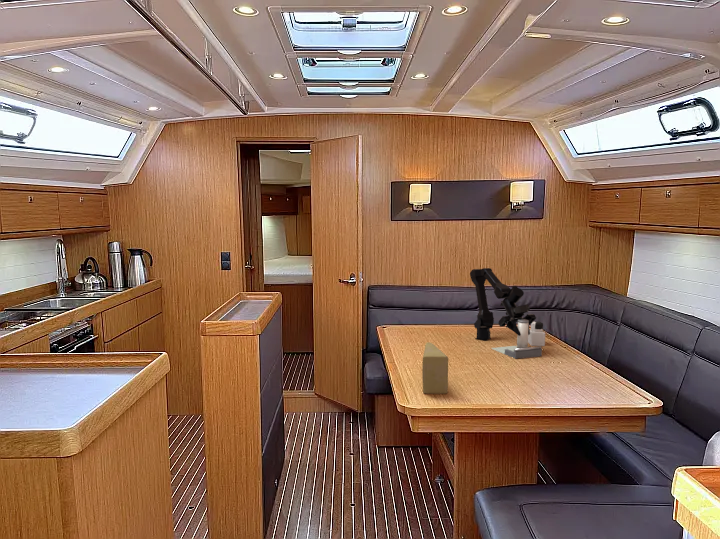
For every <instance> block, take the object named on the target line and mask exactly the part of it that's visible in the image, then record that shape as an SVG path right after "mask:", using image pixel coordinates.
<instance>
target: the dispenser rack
mask: <svg viewBox="0 0 720 539" xmlns="http://www.w3.org/2000/svg"><path fill="white" fill-rule="evenodd" d="M542 347H543V346H528V348H519V349H514V352H513V351H511V350H508V349H505V354H504V355H505V356H507V355H508V356H507V357H510V358H512V357H513V359H514V358H515V359H514V360H519V359H518V358H520V359H527V358H528V359H529V358H537V357H542V356H543V355H542V353H543V351H542V350H543V348H542Z"/></svg>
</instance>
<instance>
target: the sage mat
mask: <svg viewBox="0 0 720 539" xmlns="http://www.w3.org/2000/svg"><path fill="white" fill-rule="evenodd" d="M490 349H491V350H494V351H496V352H498V353H501V354H503V355H505V349H508V350H511V351H513V352H514V349H517V345H508V346H499V347H491V348H490Z"/></svg>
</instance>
